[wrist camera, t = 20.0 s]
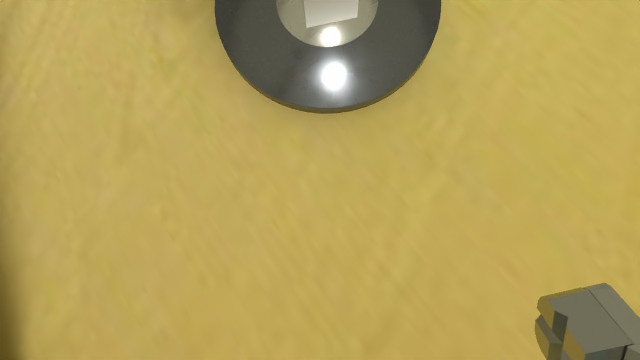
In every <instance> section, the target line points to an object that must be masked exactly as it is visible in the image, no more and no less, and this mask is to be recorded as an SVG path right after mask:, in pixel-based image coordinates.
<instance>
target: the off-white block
mask: <svg viewBox="0 0 640 360" xmlns="http://www.w3.org/2000/svg"><path fill="white" fill-rule="evenodd" d="M358 2H359V0H301V4H302V9H303V13H304V18H305V22H306V27H307V28H308V27H313V26H318V25H322V24H327V23H332V22H337V21H342V20H346V19H351V18H356V17H357V14H358Z"/></svg>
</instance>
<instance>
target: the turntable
mask: <svg viewBox="0 0 640 360" xmlns="http://www.w3.org/2000/svg"><path fill="white" fill-rule="evenodd" d="M440 13H441V0H359V2H358V14H357V17H356V18H351V19H346V20H342V21H337V22H332V23H327V24H322V25H318V26H313V27H308V28H307V27H306V22H305V18H304V13H303V9H302V4H301V0H215V17H216V25H217V29H218V32H219V36H220V39H221V41H222V43H223V46H224V48H225V50H226V52H227V55H228V57H229V58H230V60H231V62H232V63H233V65H234V67H235V68H236V70H237V71H238V72H239V73H240V75H241V76H242V77H243V78H244V79H245V80H246V81H247V82H248V83H249V84H250V85H251V86H252V87H253V88H254V89H256V90H257V91H258V92H260V93H261V94H263V95H264V96H265V97H267V98H269V99H271V100H273V101H275V102H277V103H279V104H281V105H284V106H287V107H289V108H292V109H296V110H300V111H305V112H312V113H341V112H348V111H353V110H357V109H360V108H364V107H367V106H369V105H372V104H374V103H376V102H379V101H381V100H382V99H384V98H386V97H388V96H389V95H391V94H393V93H394V92H395V91H397V90H398V89H399V88H400V87H402V86H403V85H404V84H405V83H406V82H407V81H408V80H409V79H410V78H411V77H412V76H413V75H414V74H415V73H416V71H417V70H418V69H419V67H420V66H421V65H422V63H423V61H424V59H425V58H426V56H427V54H428V52H429V50H430V48H431V45H432V43H433V40H434V38H435V35H436V32H437V29H438V25H439V20H440Z"/></svg>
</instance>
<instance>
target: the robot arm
mask: <svg viewBox="0 0 640 360" xmlns="http://www.w3.org/2000/svg"><path fill="white" fill-rule="evenodd" d="M537 309H538V310H539V312H540V313H541V315H540V316H539V317H538V318H537V319H536V320H535V334H536V338H537V342H538V344H539V347H540V349H541V351H542V353H543V354H544V356H545V358H546V359H547V360H640V318H639V317H638V316H637V315H636V314H635V313H634V311H633V310H632V309H631V308H630V307H629V306H628V305H627V304H626V302H625V301H624V300H623V299H622V298H621V297H620V296H619V295H618V293H617V292H616V291H615V290H614V289H613V288H612V287H611V286H610V285H608V284H606V283H601V284H597V285H592V286H588V287H584V288H576V289H572V290H568V291H563V292H559V293H555V294H551V295H546V296H542V297H540V299H539V300H538V304H537Z"/></svg>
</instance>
